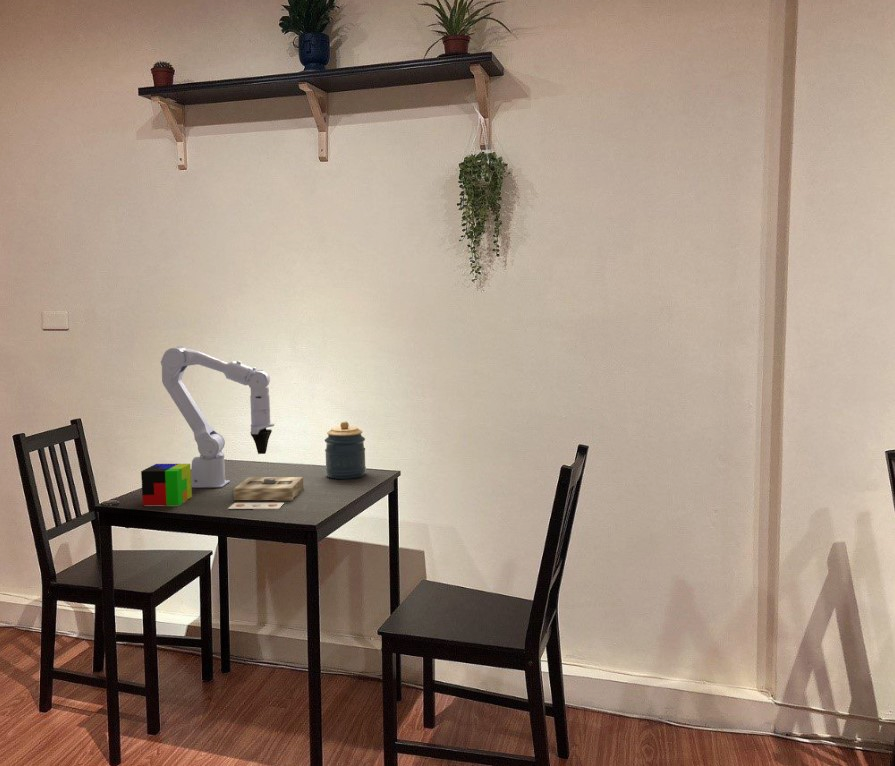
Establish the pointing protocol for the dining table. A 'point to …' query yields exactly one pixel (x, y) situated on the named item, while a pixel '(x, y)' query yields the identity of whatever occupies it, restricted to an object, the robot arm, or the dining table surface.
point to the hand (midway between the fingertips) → (262, 453)
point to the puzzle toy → (166, 484)
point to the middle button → (269, 481)
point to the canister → (345, 452)
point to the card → (256, 506)
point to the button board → (268, 489)
